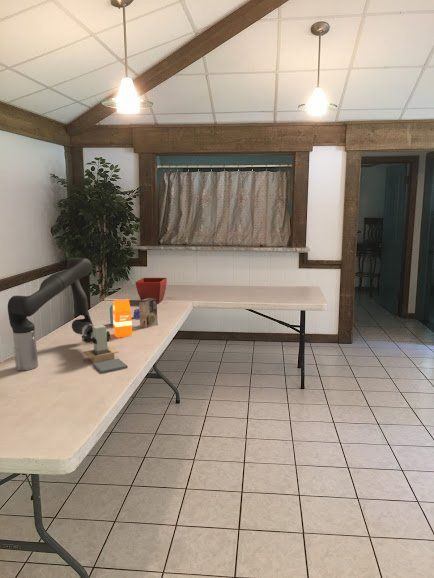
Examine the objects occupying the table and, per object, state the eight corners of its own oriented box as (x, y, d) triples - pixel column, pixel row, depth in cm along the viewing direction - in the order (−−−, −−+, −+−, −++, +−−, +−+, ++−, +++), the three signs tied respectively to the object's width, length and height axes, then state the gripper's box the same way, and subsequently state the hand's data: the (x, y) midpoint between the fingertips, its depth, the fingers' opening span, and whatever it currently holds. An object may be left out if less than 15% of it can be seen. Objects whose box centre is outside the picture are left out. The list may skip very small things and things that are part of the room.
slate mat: (101, 373, 200) (101, 371, 200) (93, 365, 210) (93, 363, 210) (127, 367, 207) (127, 365, 206) (118, 360, 217) (118, 358, 216)
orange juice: (114, 333, 261) (111, 299, 257) (129, 332, 264) (127, 298, 260) (116, 337, 254) (114, 302, 250) (132, 335, 257) (130, 300, 253)
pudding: (130, 315, 304) (130, 308, 303) (148, 314, 305) (148, 307, 304) (129, 320, 292) (129, 312, 291) (148, 319, 293) (148, 311, 292)
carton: (89, 364, 212) (88, 357, 211) (83, 358, 220) (82, 351, 219) (119, 358, 219) (119, 351, 218) (112, 353, 227) (112, 346, 227)
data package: (131, 322, 285) (130, 303, 282) (130, 324, 280) (129, 305, 278) (111, 323, 283) (110, 304, 281) (110, 325, 279) (109, 306, 277)
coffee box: (150, 323, 283) (149, 297, 280) (158, 324, 279) (157, 298, 276) (139, 326, 276) (138, 300, 273) (146, 327, 272) (145, 301, 269)
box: (97, 361, 216) (95, 328, 213) (94, 358, 220) (92, 326, 217) (108, 359, 219) (106, 326, 216) (104, 356, 223) (102, 324, 220)
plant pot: (135, 304, 336) (134, 281, 333) (144, 298, 354) (143, 277, 351) (161, 304, 333) (160, 282, 330) (168, 299, 351) (167, 277, 348)
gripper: (76, 327, 225) (86, 335, 211) (104, 323, 233) (116, 330, 218) (77, 342, 227) (87, 351, 212) (105, 337, 234) (117, 345, 220)
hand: (101, 340), depth 216 cm, fingers closed on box, 5 cm apart
